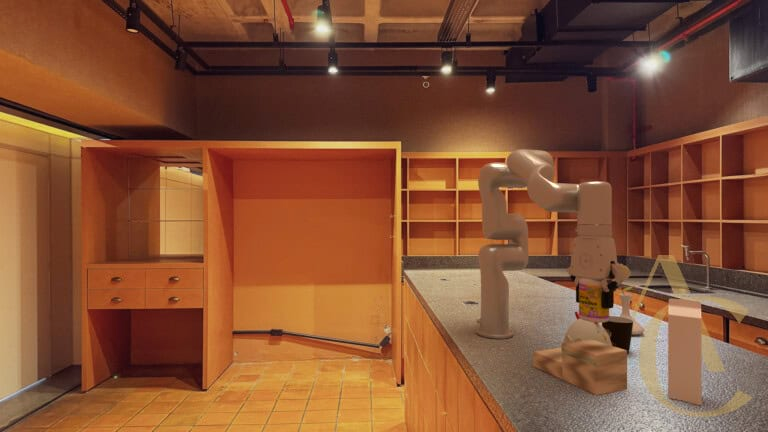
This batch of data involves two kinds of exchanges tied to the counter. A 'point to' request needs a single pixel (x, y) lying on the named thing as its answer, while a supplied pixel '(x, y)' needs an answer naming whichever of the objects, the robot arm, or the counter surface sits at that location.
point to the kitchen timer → (586, 331)
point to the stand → (586, 365)
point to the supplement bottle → (591, 301)
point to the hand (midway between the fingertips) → (594, 304)
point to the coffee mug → (619, 331)
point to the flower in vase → (628, 302)
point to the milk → (685, 350)
